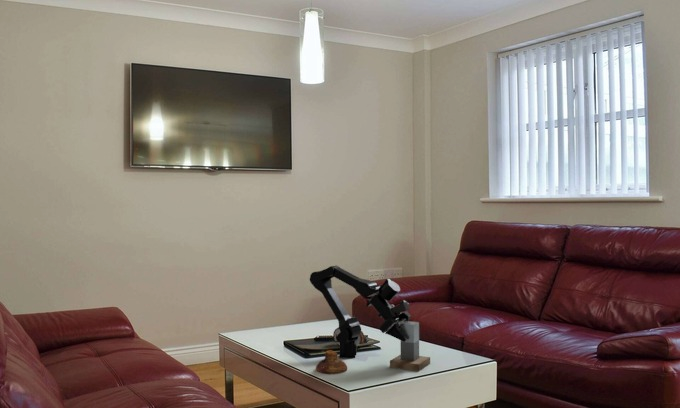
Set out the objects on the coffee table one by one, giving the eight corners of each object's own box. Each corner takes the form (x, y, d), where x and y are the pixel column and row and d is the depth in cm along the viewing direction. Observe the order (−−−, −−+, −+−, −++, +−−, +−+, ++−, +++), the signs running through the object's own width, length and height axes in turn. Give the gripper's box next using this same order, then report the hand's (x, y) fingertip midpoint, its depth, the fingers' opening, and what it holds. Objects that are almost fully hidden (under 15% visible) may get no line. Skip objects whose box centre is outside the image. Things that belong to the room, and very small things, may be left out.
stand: (389, 367, 240) (389, 360, 240) (401, 360, 250) (401, 353, 250) (419, 371, 234) (419, 364, 234) (430, 363, 245) (430, 357, 245)
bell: (315, 366, 242) (315, 348, 242) (346, 365, 243) (345, 347, 243) (316, 375, 231) (316, 355, 231) (348, 374, 232) (348, 354, 232)
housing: (400, 359, 241) (400, 323, 241) (406, 356, 246) (405, 321, 246) (414, 361, 239) (413, 324, 239) (419, 358, 243) (418, 322, 243)
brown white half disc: (365, 347, 272) (365, 328, 272) (361, 349, 270) (361, 329, 270) (336, 343, 280) (335, 325, 280) (332, 345, 278) (332, 326, 278)
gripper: (387, 297, 236) (414, 329, 231) (405, 291, 253) (431, 321, 248) (368, 316, 240) (395, 348, 235) (388, 309, 257) (413, 338, 252)
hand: (409, 338), depth 242 cm, fingers open, 9 cm apart
